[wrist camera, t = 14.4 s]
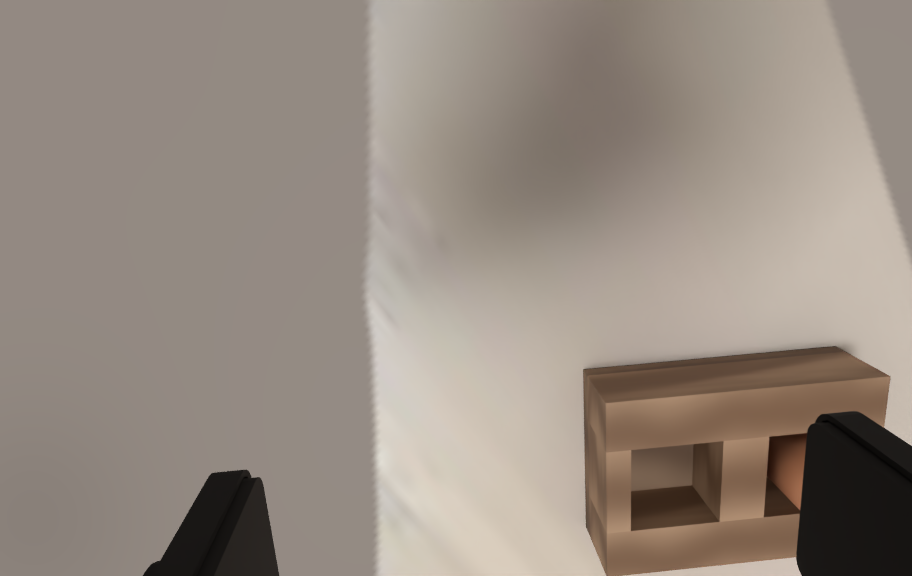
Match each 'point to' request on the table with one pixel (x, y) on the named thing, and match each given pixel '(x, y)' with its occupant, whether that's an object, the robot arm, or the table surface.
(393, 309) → the table surface
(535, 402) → the table surface
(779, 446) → the pin
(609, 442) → the socket block
